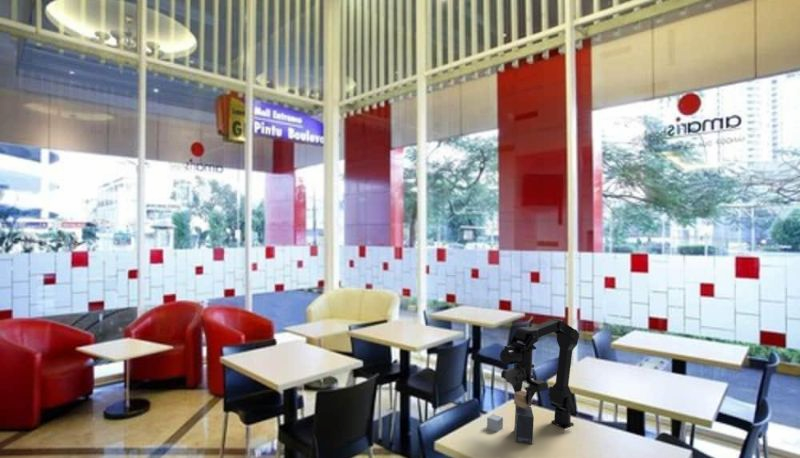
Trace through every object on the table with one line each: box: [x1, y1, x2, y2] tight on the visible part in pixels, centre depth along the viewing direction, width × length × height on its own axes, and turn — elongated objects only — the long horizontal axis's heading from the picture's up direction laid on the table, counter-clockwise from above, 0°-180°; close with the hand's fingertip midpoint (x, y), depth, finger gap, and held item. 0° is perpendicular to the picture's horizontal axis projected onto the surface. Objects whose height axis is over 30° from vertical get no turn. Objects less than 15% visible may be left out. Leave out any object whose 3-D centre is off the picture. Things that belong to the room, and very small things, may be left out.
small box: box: [513, 404, 535, 445], centre depth 170 cm, size 11×6×10 cm, turn 169°
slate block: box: [486, 413, 504, 433], centre depth 176 cm, size 4×4×4 cm
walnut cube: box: [513, 389, 532, 408], centre depth 171 cm, size 4×4×4 cm
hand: (522, 402), depth 171 cm, fingers closed on walnut cube, 4 cm apart
